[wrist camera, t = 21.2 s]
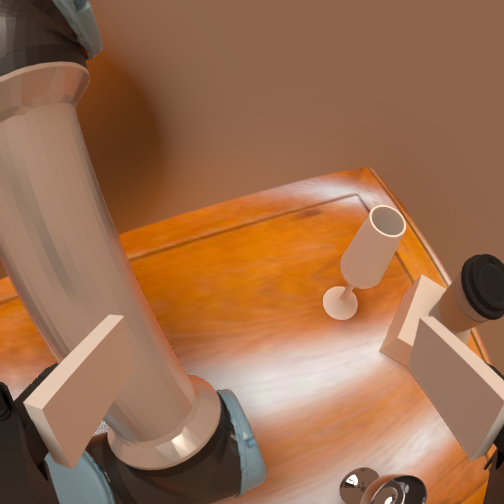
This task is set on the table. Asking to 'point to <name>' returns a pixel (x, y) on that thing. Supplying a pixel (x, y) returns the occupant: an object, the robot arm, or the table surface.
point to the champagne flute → (365, 259)
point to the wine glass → (382, 488)
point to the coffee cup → (472, 295)
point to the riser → (413, 319)
